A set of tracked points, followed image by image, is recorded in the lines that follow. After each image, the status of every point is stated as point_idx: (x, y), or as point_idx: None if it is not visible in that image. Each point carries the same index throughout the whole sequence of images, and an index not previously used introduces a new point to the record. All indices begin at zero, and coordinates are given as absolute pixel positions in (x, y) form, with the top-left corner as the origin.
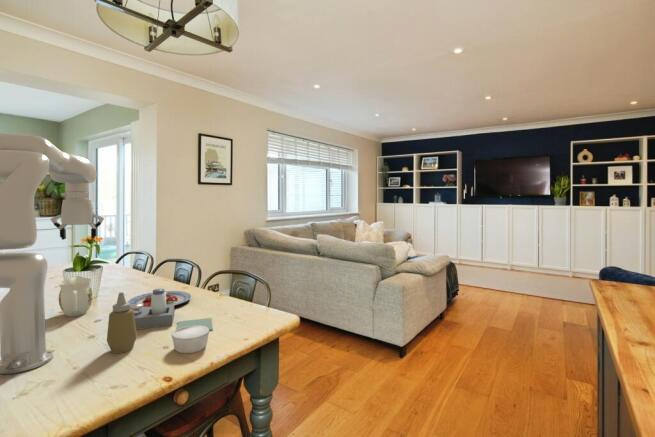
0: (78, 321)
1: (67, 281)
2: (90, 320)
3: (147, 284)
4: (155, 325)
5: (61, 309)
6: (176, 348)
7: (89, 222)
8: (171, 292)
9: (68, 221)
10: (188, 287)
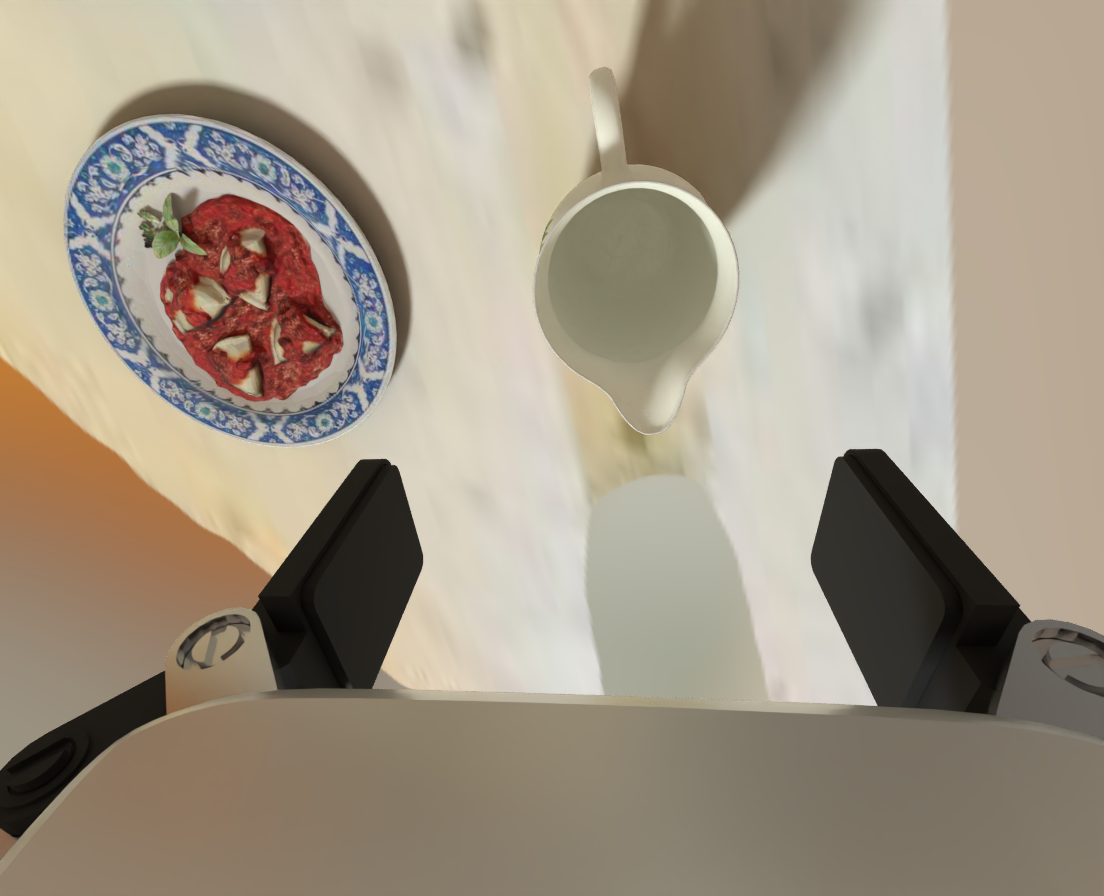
0: (579, 66)
1: (695, 354)
2: (517, 62)
3: (426, 618)
4: None
5: (693, 216)
6: None
7: (126, 743)
8: (232, 418)
9: (1006, 868)
10: (222, 522)
